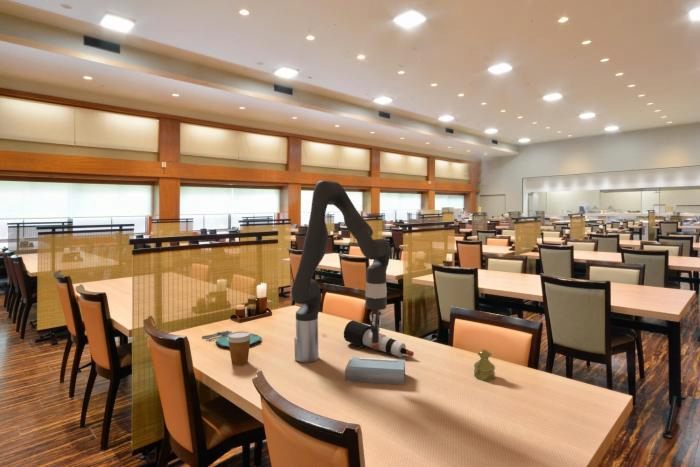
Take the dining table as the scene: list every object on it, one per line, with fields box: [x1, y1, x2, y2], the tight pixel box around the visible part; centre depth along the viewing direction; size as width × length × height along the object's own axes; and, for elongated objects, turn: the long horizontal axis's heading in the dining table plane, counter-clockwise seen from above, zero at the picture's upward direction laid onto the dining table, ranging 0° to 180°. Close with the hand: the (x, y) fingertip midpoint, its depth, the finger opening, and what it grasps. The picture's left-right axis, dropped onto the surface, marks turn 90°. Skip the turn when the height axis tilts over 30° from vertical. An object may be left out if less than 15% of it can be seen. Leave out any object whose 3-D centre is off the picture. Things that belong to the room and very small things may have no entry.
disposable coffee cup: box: [227, 330, 251, 367], centre depth 162 cm, size 10×10×12 cm
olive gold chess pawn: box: [473, 349, 496, 381], centre depth 147 cm, size 7×8×10 cm
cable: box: [343, 320, 415, 358], centre depth 175 cm, size 10×34×10 cm, turn 47°
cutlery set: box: [201, 330, 263, 348], centre depth 192 cm, size 20×30×2 cm, turn 50°
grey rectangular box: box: [344, 358, 406, 385], centre depth 147 cm, size 21×9×4 cm, turn 80°
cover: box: [348, 356, 406, 373], centre depth 147 cm, size 20×11×2 cm, turn 80°
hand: (375, 342), depth 143 cm, fingers closed
